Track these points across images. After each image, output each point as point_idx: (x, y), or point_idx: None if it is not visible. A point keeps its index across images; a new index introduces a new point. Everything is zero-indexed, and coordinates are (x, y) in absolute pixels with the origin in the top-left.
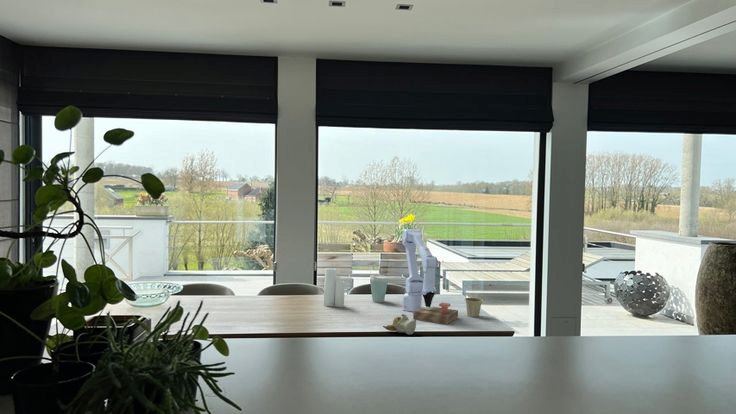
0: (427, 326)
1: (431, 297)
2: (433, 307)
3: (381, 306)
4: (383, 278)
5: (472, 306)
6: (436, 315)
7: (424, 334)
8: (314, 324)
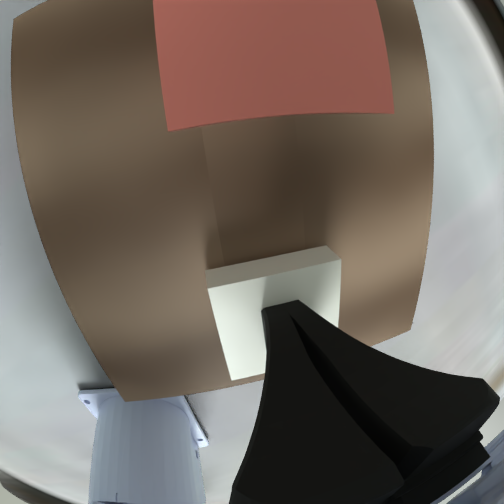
0: (473, 123)
1: (408, 384)
2: (206, 279)
3: (220, 483)
4: None
5: None
6: (425, 97)
7: None
8: (494, 376)
